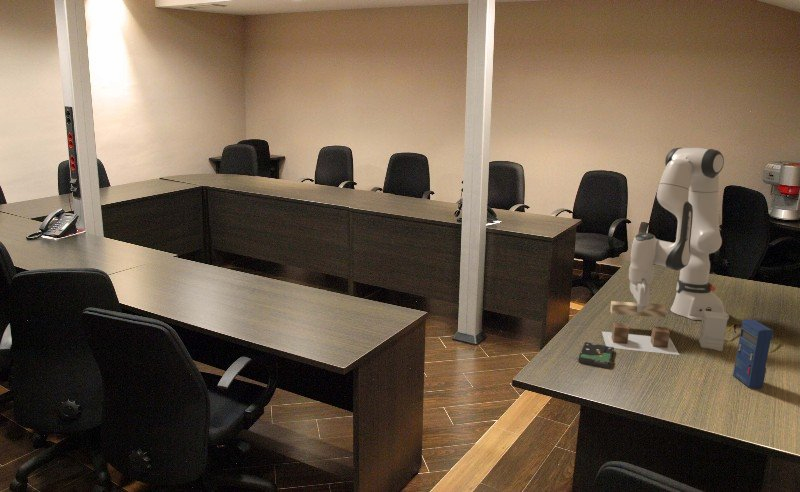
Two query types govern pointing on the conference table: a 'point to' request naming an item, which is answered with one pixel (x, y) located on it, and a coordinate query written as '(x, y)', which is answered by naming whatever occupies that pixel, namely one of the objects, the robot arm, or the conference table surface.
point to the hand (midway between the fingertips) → (637, 309)
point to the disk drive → (596, 355)
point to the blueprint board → (639, 344)
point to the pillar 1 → (620, 333)
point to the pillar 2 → (660, 337)
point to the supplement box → (713, 330)
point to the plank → (631, 309)
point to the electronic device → (752, 353)
